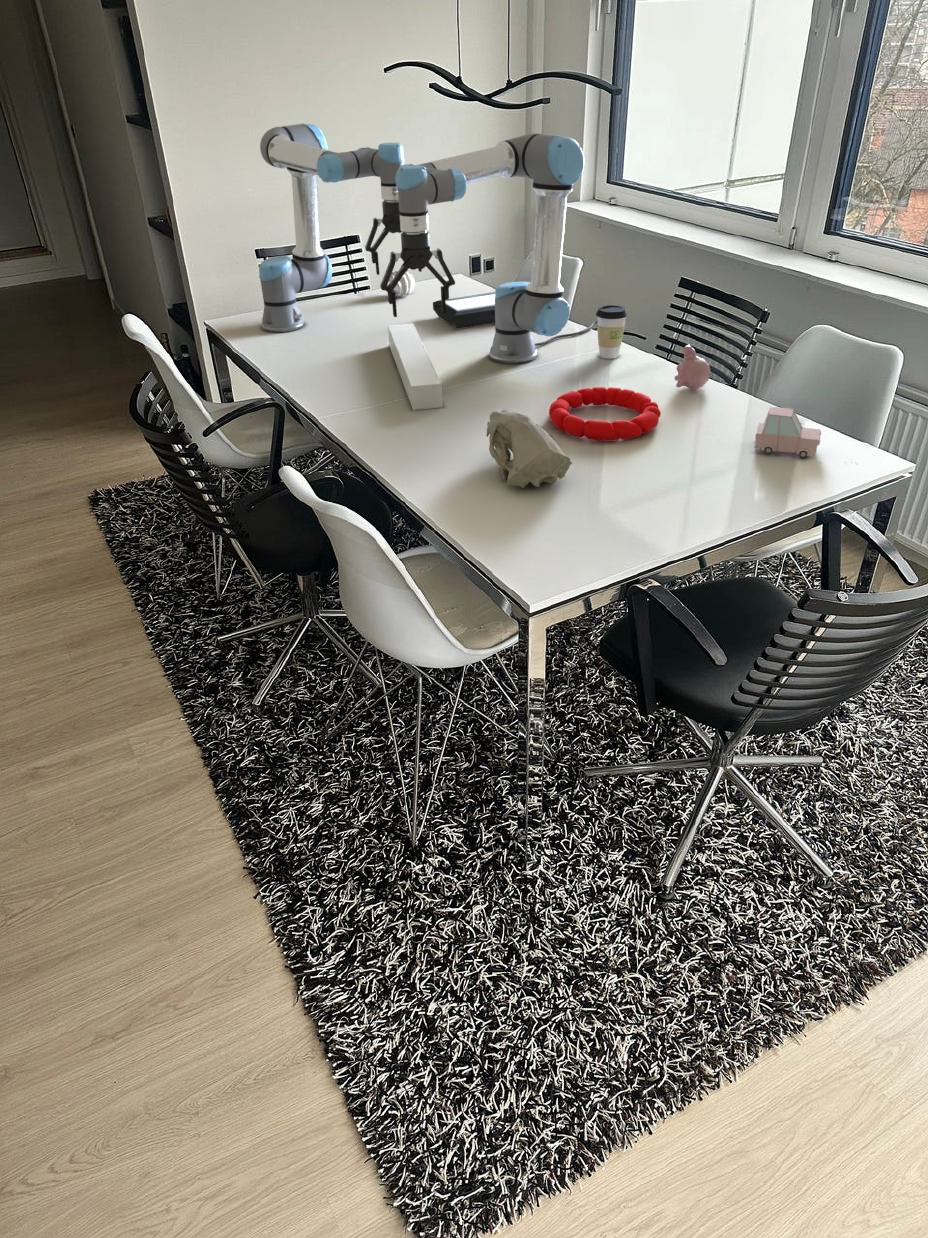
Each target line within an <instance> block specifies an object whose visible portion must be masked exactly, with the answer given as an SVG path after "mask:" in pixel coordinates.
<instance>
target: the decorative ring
mask: <svg viewBox="0 0 928 1238" xmlns="http://www.w3.org/2000/svg"><path fill="white" fill-rule="evenodd" d="M583 405H584V406H586V407H587V406H591V405H593V406H604V405H608V406H614V407H619V408H624V409H628V410H632V411H635V412H636V413H638V414H639V415H637V416H635V417H632V418H631V419H630V420H625V419H624V420H623V419H622V420H614V421H611V422H609V421H607V420H606V421H605V420H593V419H587V420H586V421H585V419H584V418H582V417H579V416H577V415H573V414H571V413H570V410H571V409H579V408H581V407H582V406H583ZM548 416H549V419H550V422H551V423H552V425H553V426H554V427H555V428H556V429H558V430H559V431H561V432H563V433H567V434H568V435H569V436H573V437H576V438H580V439H582V438H583V437H585V438H586V439H587V440H591V441H601V442H602V441H603V442H608V441H609V442H610V441H611V442H612V441H615V442H616V441H618V440H630V439H634V438H638V437H641V436H642V434H647V433H650V432H651V431H653V430H654V429H655V428H656V427H657V426H658V424H659V422H660V421H659V420H660V417H661V410H660V408H659V405H658V403H657V402H656V401H652V399H651V397H649V396H648V395H646V394H644V393H642V392H635V391H634V390H632V389H628V388H624V389H622V388H620V387H613V386H612V387H611V386H610V387H608V388H606V387H604V386H594V387H585V388H584V387H583V388H580V389H578V390H571V391H568V392H565V393H563V394H561V395H560V396H558V397H557V398H556V400H554V401H552V403H551V404H550V407H549V409H548Z"/></svg>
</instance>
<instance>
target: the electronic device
mask: <svg viewBox="0 0 928 1238" xmlns="http://www.w3.org/2000/svg"><path fill="white" fill-rule="evenodd" d="M494 298H495V291H493V292H485V293H479V294H472V295H465V296H459V297H451V298H449V299H448V300H445V303H446V313H443V312H442V306H441V299H439V300H436V301H433V302H432V310H433V311H434V313H435V314H436V316H437V317H438V318H439V319H441V320H442V321H444V322H446V323H447V324H449V325H451V326H452V327H454V328H455V329H456V330H459V329H467V328H473V327H479V326H484V325H485V326H486V325H491V324H495V300H494Z"/></svg>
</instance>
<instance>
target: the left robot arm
mask: <svg viewBox="0 0 928 1238" xmlns="http://www.w3.org/2000/svg"><path fill="white" fill-rule="evenodd" d="M328 149H329V148H328V142H327V140H326V137H325V135H324V133H323V131H322V130H321V128H320V127H318V126H317V125H316V124H315V123H297V124H290V125H283V126H274V127H272V128H270V129H267V131H266V132H265V133H264V134H262V137H261V139H260V143H259V150H260V154H261V157H262V159H263V160H264V161H265V163H267V164H268V165H269V166H272V167H273V168H277V169H286V171H288V172H289V174H290V175H291V187H292V190H291V191H292V204H293V206H292V207H293V219H294V235H295V247H294V248H293V249H292V250H291V255H292V257H290V256H288V255H278V256H272V257H269V258H266V259H265V260H263V261H261V262H260V264H259V266H258V275H259V276H258V277H259V281H260V287H261V292H262V293H261V294H262V299H263V313H262V319H261V326H262V330H264V331H265V332H271V333H286V332H293V331H296V330H297V331H298V330H300V329H302V328H304V326H305V319H304V317H303V314H302V312H301V310H300V307H299V306H298V305H299V304H298V303H297V295H296V294H301V293H305V292H309V291H313V290H314V291H315V290H319V289H321V288H324V287H327V285H328V284H329V283H330V282H331V280H332V277H333V266H332V262H331V259H330V257H329V256H328V255H327V254H326V253H325V250H324V249H323V248H322V246H321V236H320V235H321V234H320V233H321V232H320V213H319V212H320V211H319V192H318V190H319V189H318V178H320V179H321V181H322V182H323V183H328V184H329V183H333V184H334V183H338V182H341V181H342V182H343V181H348V180H355V179H361V178H368V177H376V178H379V179H380V192H381V193H380V194H381V199H382V200H383V201H382V202H381V205H382V206H381V207H382V218H377V217H373V218H372V226H371V229H370V232H369V235H368V238H367V241H366V243H365V245H364V249H365V251H366V252H369V253H370V255H371V256H370V257H371V262H372V264H375V273H376V275H377V276H380V263H379V253H378V251H377V250H378V248H379V247H380V246H381V244H382V243H383V242H384V240H385V238H386V237H387V236H388V235H389V233H391V234H396V233H397V234H402V231H401V230H400V211H399V198H398V188H397V186H396V182H395V181H396V180H395V177H396V173H397V171H398V169H399V168H400V167H401V166H402V165H405V156H404V155H405V153H404V147H403V145H402V144H401V143H399V142H383V143H380V144H378V147H377V148H373V147H368V146H367V147H359V148H357V149H355V150H349V151H343V152H337V151H331V150H328ZM381 224H382V225H383V226H384V228H383V229H382V232H381V233H380V235H379V236H378V237H377V239H376V240H375V241H374V239H375V236H376V233H377V231H378V227H380V226H381ZM373 241H374V243H373ZM417 270H418V272H419V273H421V272H423V271H422V270H423V269H417Z"/></svg>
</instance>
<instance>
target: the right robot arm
mask: <svg viewBox="0 0 928 1238" xmlns="http://www.w3.org/2000/svg"><path fill="white" fill-rule="evenodd" d="M584 167H585V156H584V152H583V148H582V147H581V146H580V144H579V142H578V141H576V140H575V139H573V138H571V137H568V136H564V135H555V134H545V133H544V134H543V133H527V134H524V135H519V136H516V137H512V138H509V139H506V140H500V141H499V142H497V143H496V144H495V146H493V147H489V148H485V149H480V150H476V151H471V152H467V153H463V154H458V155H455V156H449V157H445V158H440V159H437V160H433V161H428V162H424V163H420V164H413V163H408V164H406V163H404V165H402V166H401V167H400V168H399V169H398V171H397V173H396V177H395V180H396V181H395V182H396V186H397V188H398V198H399V211H400V230H401V231H402V233H400V242H401V243H400V244H401V251H400V252H395V251H390V254H389V262H388V264H387V267H386V270H385V273H384V275H383V277H382V279H381V280H382V281H381V282H380V286H379V287H380V289H381V290H382V291H385V292H387V302H388V304H389V305H392V315H393V318H398V312H397V299H396V298H397V297H396V296H395V291H394V290H393V289H394V288H395V287H396V285H397V284H398V282H399V281H400V279H401V278H402V277H403V275H404V274H405V272H408V270H409V269H410V270H413V271H414V270H418V269H422V270H424V269H425V268H427V269H428V270H429V271H430V273H431V274H432V275H433V276H434V277H435V279H437V280H438V282H440V284H441V285H442V286H440V300H441V306H442V312H443V313H446V303H445V300H448V299H450V287H452V286H455V285H456V280H455V279H454V277H453V275H452V273H451V272H450V269H449V267H448V265H447V263H446V261H445V260H444V257H443V256H444V255H443V251H442V250H441V248H440V247H439V248H436V249H435V250H431V240H430V232H429V231H428V230H429V229H430V223H429V221H430V220H429V205H434V204H440V203H441V204H442V203H447V202H455V201H458V200H461V199H463V198H464V197H465V195H466V193H467V185H469V184H473V183H476V182H481V181H484V180H489V179H492V178H497V177H501V178H503V179H510V178H513V177H515V178H516V177H518V178H527V179H531V180H532V190H533V191H534V192H535V194H536V197H537V198H536V206H535V207H536V208H535V220H534V221H535V222H534V223H535V224H534V235H533V249H532V261H531V262H532V263H531V276H530V277H531V278H530V281H511V282H506V283H502V284H499V285H497V286H496V288H495V291H494V292H495V298H494V300H495V323H494V328H495V329H494V337H493V339H492V340H493V341H492V345H491V346H490V349H489V358H490V359H491V360H492V361H494V362H497V363H501V364H509V365H510V364H511V365H512V364H516V365H517V364H525V363H528V362H532V361H534V360H535V359H537V356H538V355H537V354H538V353H537V352H538V351H537V347H539V346H543V345H546V344H549V343H550V342H552V341H554V340H557V339H562V338H567V337H573V336H574V337H575V336H578V335H582V334H584V333H587V332H588V331H590V330H591V329H592V328H593V326H595V325H597V323H598V319H596V320H595V321H592V322H591V323H590V325H589V326H588V327H587V328H585V329H582V330H579V331H576V332H572V333H565V334H560V333H561V331H562V330H563V329H564V328H565V327H566V325H567V323H568V321H569V318H570V313H571V310H570V305H569V304H568V302H567V300H566V299H565V298H564V292H565V289H564V287H563V286H562V285H561V283H560V281H561V269H562V258H563V249H564V236H565V224H566V213H567V203H568V196H569V195H570V194H571V193H572V192H573V191H574V184H575V183H577V182H578V181H579V180H580V176H582V174H583V172H584ZM432 257H434V258H435V259H437V260H438V262H439V264H440V266H441V268H442V270H443V272H444V273H445V276H446V278H447V279H448V280H446V279H445V278H444V276H443V275H441V273H439V271H438V270H437V269H436V268H435V267H434V266H433V264H431V262H430V261H431V259H432ZM399 259H401V260H402V262H403V263H402V264H401V266H400V268H399V269H398V270H397V271H398V272H397V274H396V275H395V276H394V278H393V279H392V281H391V282H390V284H389V285H387V284H388V281H389V279H390V276H391V274H392V272H394V268H395V265H396V263H397V262H398V261H399ZM589 329H590V330H589ZM533 333H534V334H536V335H537V336H545V337H551V338H548V339H547V340H545V341H541V342H537V343H535V341H534V337H533ZM558 334H559V335H558Z"/></svg>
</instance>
